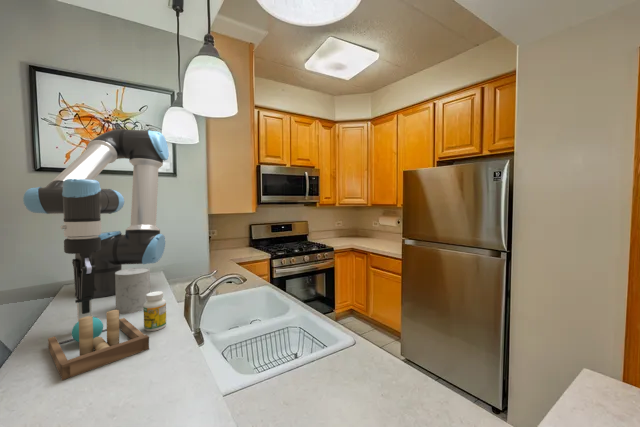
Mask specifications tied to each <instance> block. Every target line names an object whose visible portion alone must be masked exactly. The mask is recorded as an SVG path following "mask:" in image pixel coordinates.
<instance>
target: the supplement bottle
mask: <svg viewBox="0 0 640 427" xmlns="http://www.w3.org/2000/svg"><path fill="white" fill-rule="evenodd" d="M163 297H164V293H163V291H161V290H160V291H158V290H157V291H152V292H151V291H150V293H148V294H146V299H147V301H146V302H145V303H144V306H143V308H144V310H143V329H144V331H146V332H155V331H159V330H162V329H164V328H165V327H166V326H167V301H166V299H164V298H163Z"/></svg>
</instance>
